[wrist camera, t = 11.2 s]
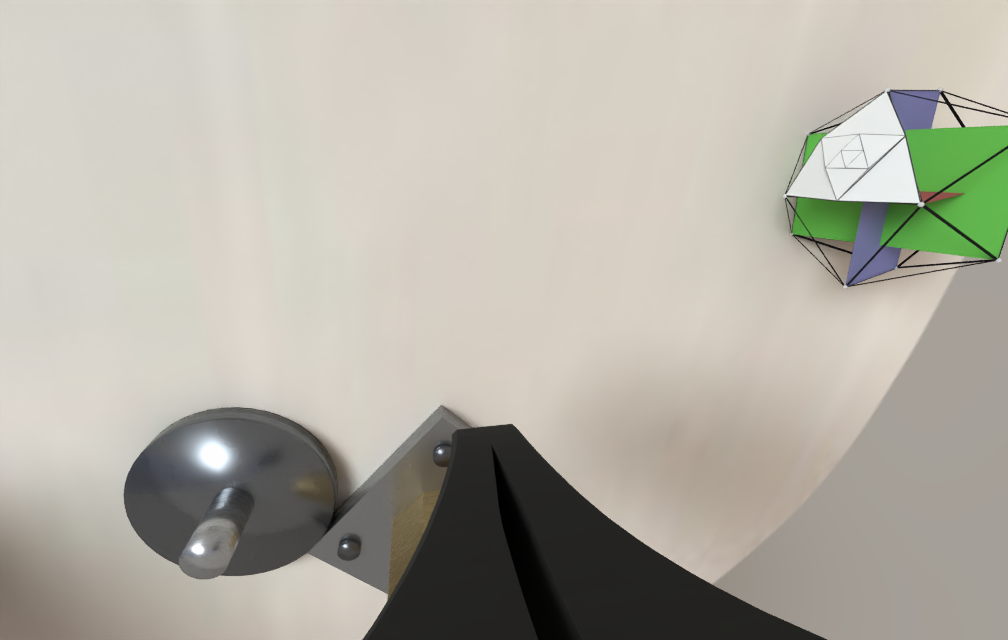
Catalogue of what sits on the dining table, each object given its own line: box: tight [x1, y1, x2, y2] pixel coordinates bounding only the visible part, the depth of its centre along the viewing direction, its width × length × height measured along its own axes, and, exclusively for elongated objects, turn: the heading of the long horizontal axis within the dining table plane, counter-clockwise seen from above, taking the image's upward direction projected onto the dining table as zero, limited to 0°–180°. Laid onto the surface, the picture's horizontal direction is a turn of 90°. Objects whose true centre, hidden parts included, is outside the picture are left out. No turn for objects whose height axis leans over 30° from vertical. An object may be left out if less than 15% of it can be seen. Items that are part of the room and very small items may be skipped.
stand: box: [124, 408, 338, 579], centre depth 19 cm, size 8×8×4 cm
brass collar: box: [388, 490, 440, 599], centre depth 20 cm, size 5×5×4 cm
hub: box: [308, 405, 471, 594], centre depth 21 cm, size 9×9×4 cm
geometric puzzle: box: [783, 87, 1008, 289], centre depth 17 cm, size 7×7×8 cm
